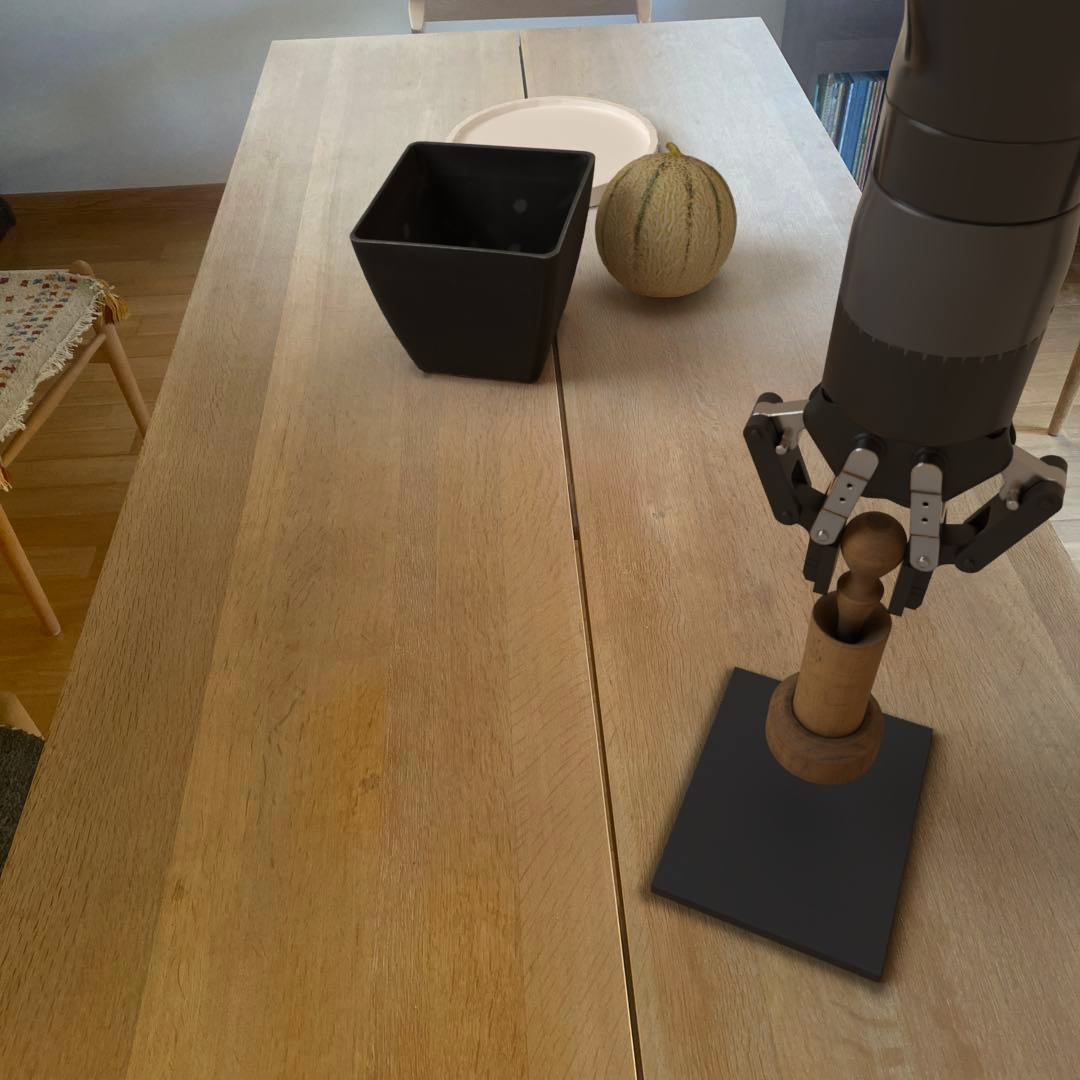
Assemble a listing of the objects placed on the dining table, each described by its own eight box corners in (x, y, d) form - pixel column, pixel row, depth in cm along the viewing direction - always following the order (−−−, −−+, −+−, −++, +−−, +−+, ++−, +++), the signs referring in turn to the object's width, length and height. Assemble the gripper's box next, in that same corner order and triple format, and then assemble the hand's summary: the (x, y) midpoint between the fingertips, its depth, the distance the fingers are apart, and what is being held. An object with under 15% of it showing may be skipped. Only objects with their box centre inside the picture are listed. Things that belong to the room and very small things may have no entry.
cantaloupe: (609, 334, 104) (609, 199, 93) (584, 261, 114) (581, 131, 103) (748, 316, 105) (764, 180, 94) (710, 245, 115) (721, 115, 104)
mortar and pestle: (747, 703, 61) (784, 489, 48) (846, 679, 62) (908, 462, 49) (792, 798, 56) (846, 589, 43) (898, 770, 57) (982, 558, 44)
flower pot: (563, 410, 95) (556, 252, 83) (376, 391, 99) (344, 237, 87) (598, 300, 108) (597, 149, 96) (432, 287, 112) (410, 140, 99)
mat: (930, 736, 69) (933, 728, 68) (877, 982, 58) (881, 976, 57) (733, 674, 73) (734, 665, 73) (650, 891, 62) (650, 884, 62)
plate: (407, 193, 127) (405, 174, 125) (498, 103, 144) (496, 85, 143) (615, 227, 119) (615, 207, 117) (684, 127, 136) (685, 109, 134)
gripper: (731, 308, 37) (701, 606, 49) (1149, 390, 33) (1000, 695, 45) (783, 212, 42) (743, 507, 54) (1156, 272, 37) (1019, 579, 50)
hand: (860, 591), depth 49 cm, fingers closed on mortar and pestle, 3 cm apart
